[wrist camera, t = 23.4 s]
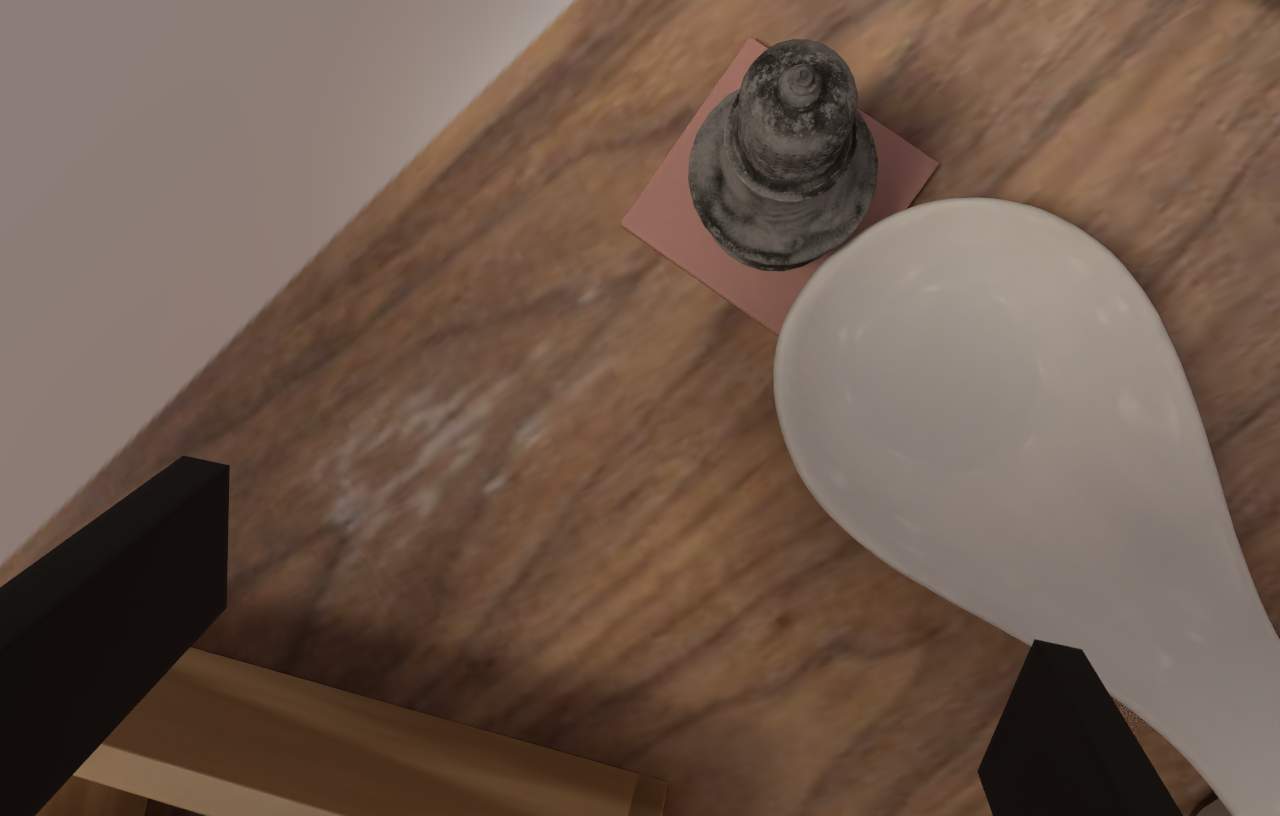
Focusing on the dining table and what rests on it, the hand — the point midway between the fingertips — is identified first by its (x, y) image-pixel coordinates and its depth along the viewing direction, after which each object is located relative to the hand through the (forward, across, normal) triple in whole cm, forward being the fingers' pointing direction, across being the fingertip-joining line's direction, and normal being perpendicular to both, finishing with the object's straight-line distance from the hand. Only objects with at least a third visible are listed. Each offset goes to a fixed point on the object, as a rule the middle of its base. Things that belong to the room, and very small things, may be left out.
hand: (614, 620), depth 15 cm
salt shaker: (+20, +3, +5) cm, 21 cm away
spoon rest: (+17, +14, -4) cm, 22 cm away
